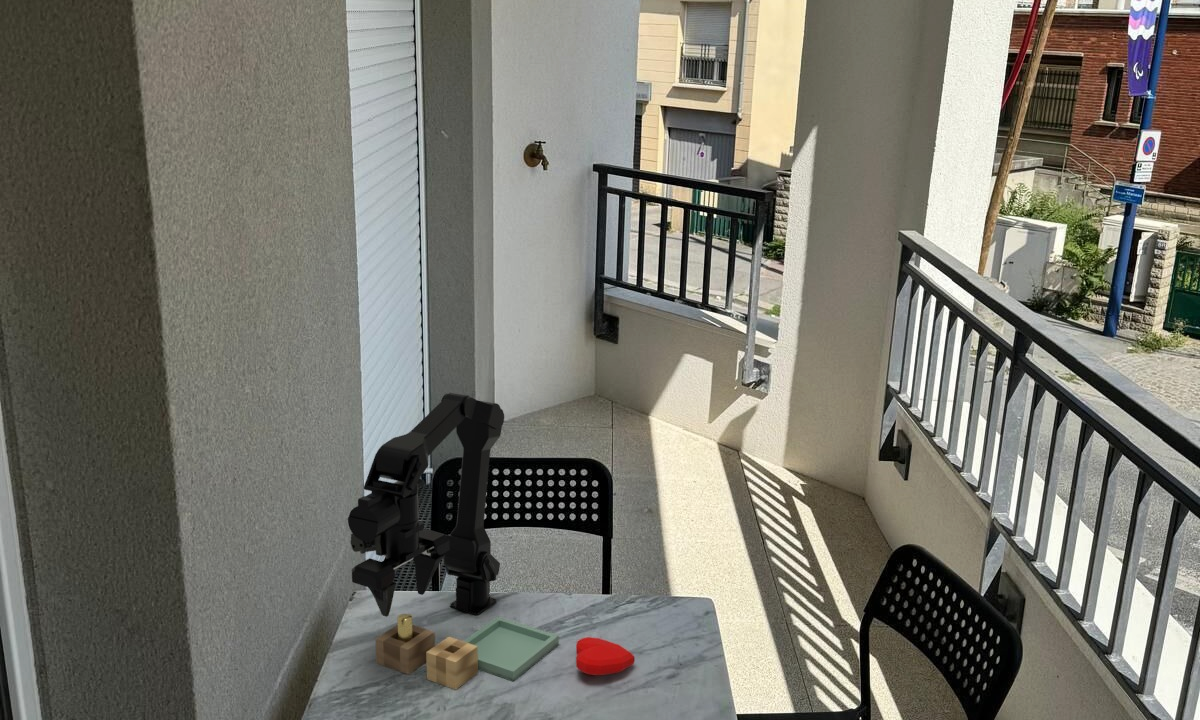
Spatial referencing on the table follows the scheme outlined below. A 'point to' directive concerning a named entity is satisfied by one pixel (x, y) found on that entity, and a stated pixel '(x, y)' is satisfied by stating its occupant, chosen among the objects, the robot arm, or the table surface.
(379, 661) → the walnut block
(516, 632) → the green tray
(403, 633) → the brass pin
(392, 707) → the table surface
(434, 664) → the oak block
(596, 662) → the heart
